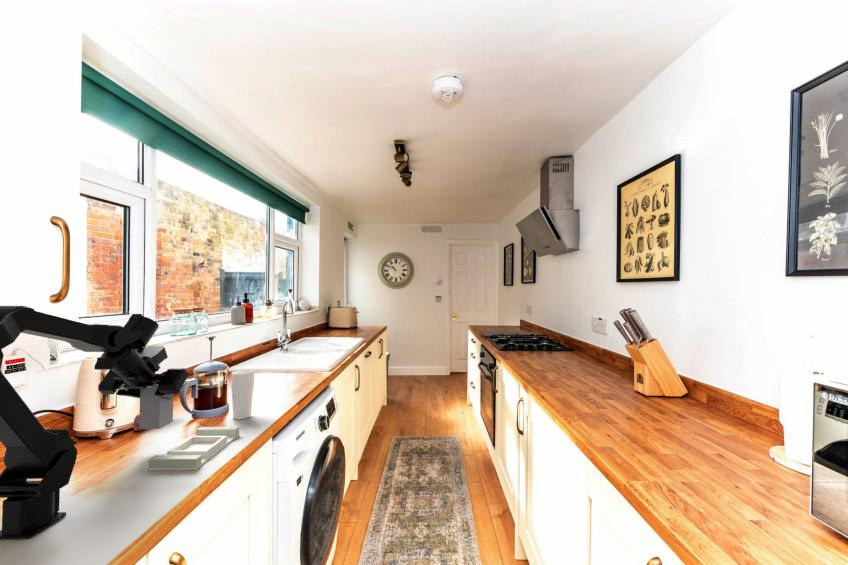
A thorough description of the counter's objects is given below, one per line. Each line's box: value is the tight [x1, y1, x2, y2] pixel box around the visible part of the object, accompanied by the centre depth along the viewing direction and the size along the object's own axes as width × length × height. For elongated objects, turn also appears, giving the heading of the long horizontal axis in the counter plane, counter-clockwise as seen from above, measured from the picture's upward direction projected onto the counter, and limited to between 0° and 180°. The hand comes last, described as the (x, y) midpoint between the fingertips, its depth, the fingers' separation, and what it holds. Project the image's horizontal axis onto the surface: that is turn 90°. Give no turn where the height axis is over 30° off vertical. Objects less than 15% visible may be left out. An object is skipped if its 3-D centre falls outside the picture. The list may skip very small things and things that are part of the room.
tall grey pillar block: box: [139, 384, 174, 430], centre depth 93 cm, size 5×5×12 cm
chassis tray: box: [147, 426, 240, 471], centre depth 93 cm, size 20×11×2 cm, turn 1°
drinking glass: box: [230, 369, 255, 421], centre depth 118 cm, size 7×7×15 cm
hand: (160, 397), depth 95 cm, fingers closed on tall grey pillar block, 5 cm apart
